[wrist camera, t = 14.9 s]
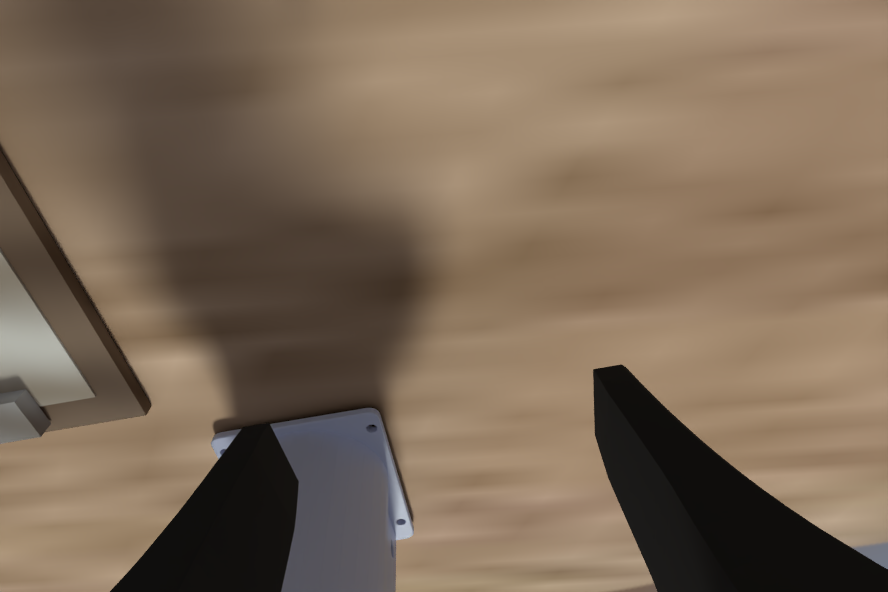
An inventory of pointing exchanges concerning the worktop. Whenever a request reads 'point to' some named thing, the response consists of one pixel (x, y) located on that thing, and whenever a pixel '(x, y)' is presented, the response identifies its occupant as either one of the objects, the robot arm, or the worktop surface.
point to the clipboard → (51, 334)
